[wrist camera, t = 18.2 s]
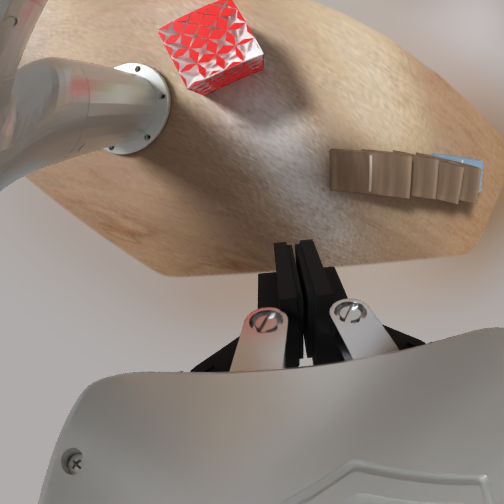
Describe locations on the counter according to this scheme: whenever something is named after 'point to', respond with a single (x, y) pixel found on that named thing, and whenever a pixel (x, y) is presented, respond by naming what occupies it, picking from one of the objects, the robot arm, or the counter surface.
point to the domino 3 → (447, 180)
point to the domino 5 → (463, 160)
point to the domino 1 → (370, 172)
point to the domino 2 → (422, 175)
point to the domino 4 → (466, 180)
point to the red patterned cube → (212, 47)
